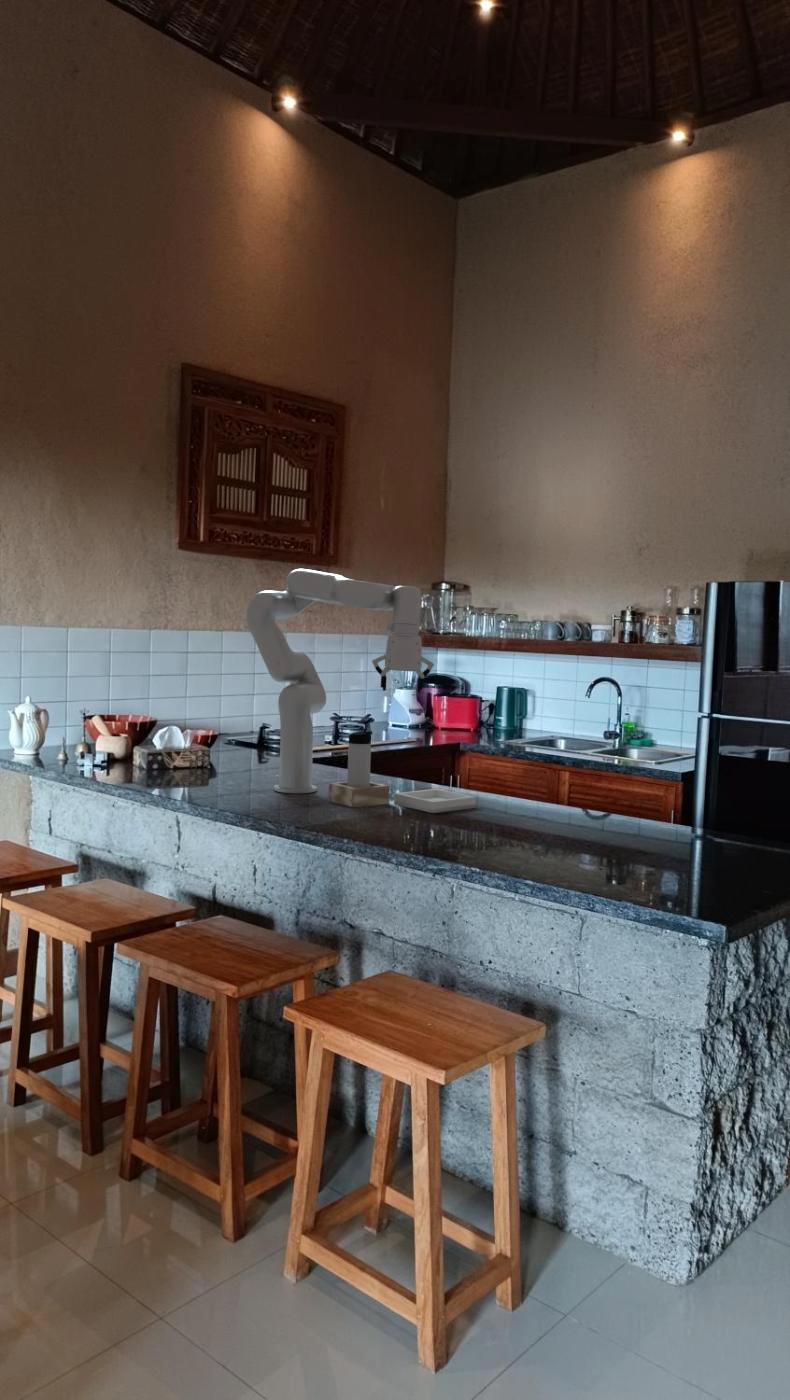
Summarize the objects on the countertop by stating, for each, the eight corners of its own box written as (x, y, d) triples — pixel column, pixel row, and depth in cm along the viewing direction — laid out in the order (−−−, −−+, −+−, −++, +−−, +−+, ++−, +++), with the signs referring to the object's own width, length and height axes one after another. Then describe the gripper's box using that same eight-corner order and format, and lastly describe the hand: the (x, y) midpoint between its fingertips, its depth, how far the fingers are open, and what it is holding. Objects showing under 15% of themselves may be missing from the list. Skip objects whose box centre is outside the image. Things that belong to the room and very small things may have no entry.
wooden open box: (328, 800, 284) (329, 783, 284) (362, 797, 292) (362, 780, 292) (355, 807, 275) (355, 789, 275) (388, 803, 283) (389, 785, 283)
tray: (393, 803, 283) (394, 793, 283) (436, 798, 293) (436, 788, 293) (432, 813, 271) (433, 802, 271) (475, 807, 281) (475, 796, 281)
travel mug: (369, 804, 281) (372, 732, 279) (346, 803, 281) (348, 731, 279) (370, 800, 287) (373, 730, 285) (347, 800, 287) (349, 729, 286)
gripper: (374, 628, 280) (371, 690, 281) (437, 632, 281) (433, 694, 283) (373, 628, 287) (370, 688, 289) (434, 631, 289) (430, 691, 290)
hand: (401, 691), depth 286 cm, fingers open, 9 cm apart
